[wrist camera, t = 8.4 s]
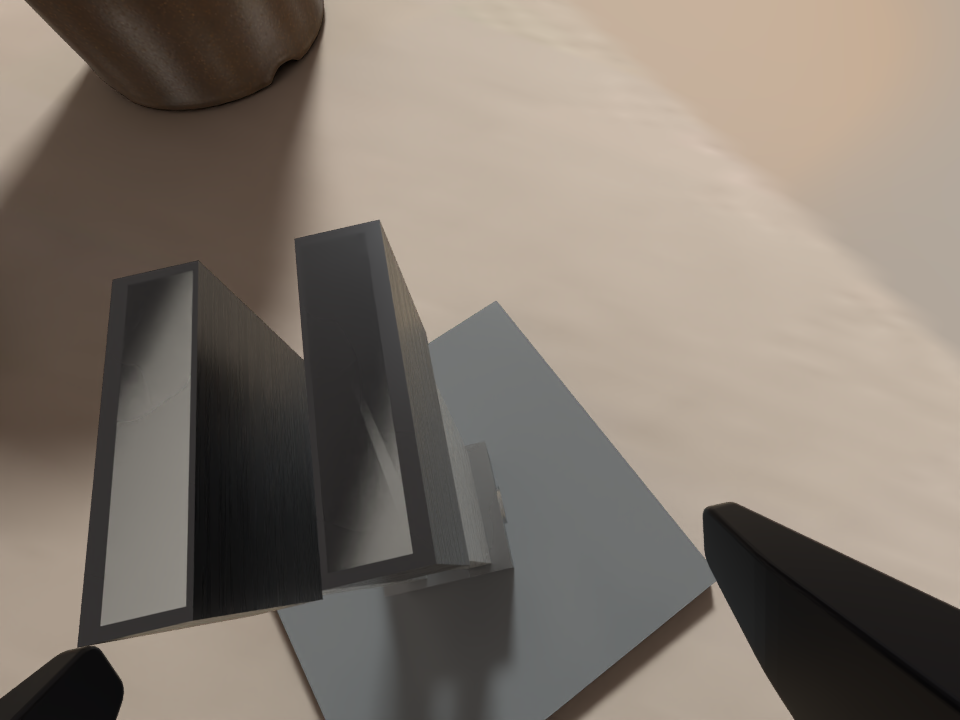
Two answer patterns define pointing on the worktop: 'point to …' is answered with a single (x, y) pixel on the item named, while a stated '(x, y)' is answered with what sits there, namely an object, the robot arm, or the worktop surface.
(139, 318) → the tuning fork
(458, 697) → the plate
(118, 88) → the plant pot
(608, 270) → the worktop surface
